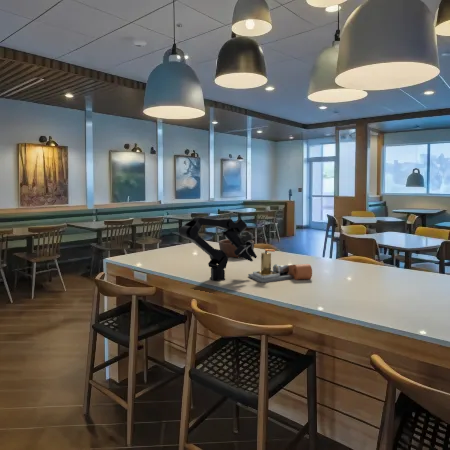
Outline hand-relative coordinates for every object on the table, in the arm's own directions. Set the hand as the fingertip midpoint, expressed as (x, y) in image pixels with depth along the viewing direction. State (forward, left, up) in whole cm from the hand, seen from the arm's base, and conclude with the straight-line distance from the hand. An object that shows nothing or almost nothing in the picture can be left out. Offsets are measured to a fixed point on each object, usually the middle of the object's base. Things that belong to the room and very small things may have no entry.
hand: (254, 259), depth 205 cm
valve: (+5, -4, -8) cm, 11 cm away
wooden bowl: (+20, +62, -10) cm, 66 cm away
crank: (+23, -7, -11) cm, 26 cm away
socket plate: (+8, -4, -10) cm, 13 cm away
